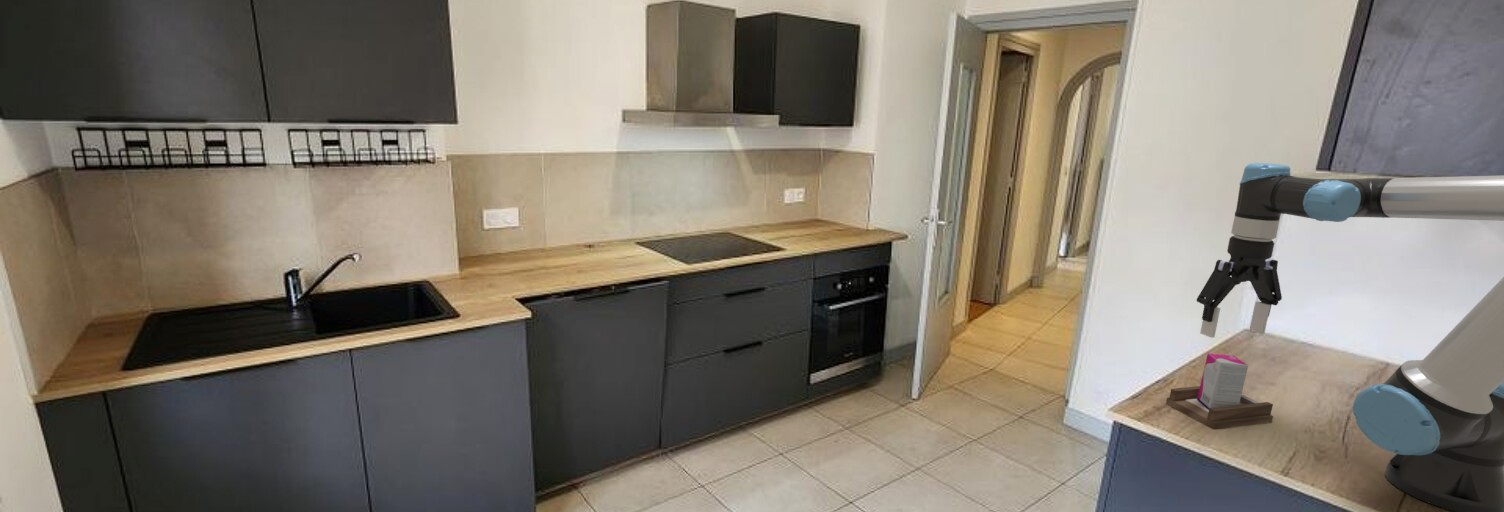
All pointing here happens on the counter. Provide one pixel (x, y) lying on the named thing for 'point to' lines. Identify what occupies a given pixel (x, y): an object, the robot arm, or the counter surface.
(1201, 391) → the supplement box
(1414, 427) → the robot arm
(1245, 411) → the brown wooden tray
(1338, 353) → the counter surface
